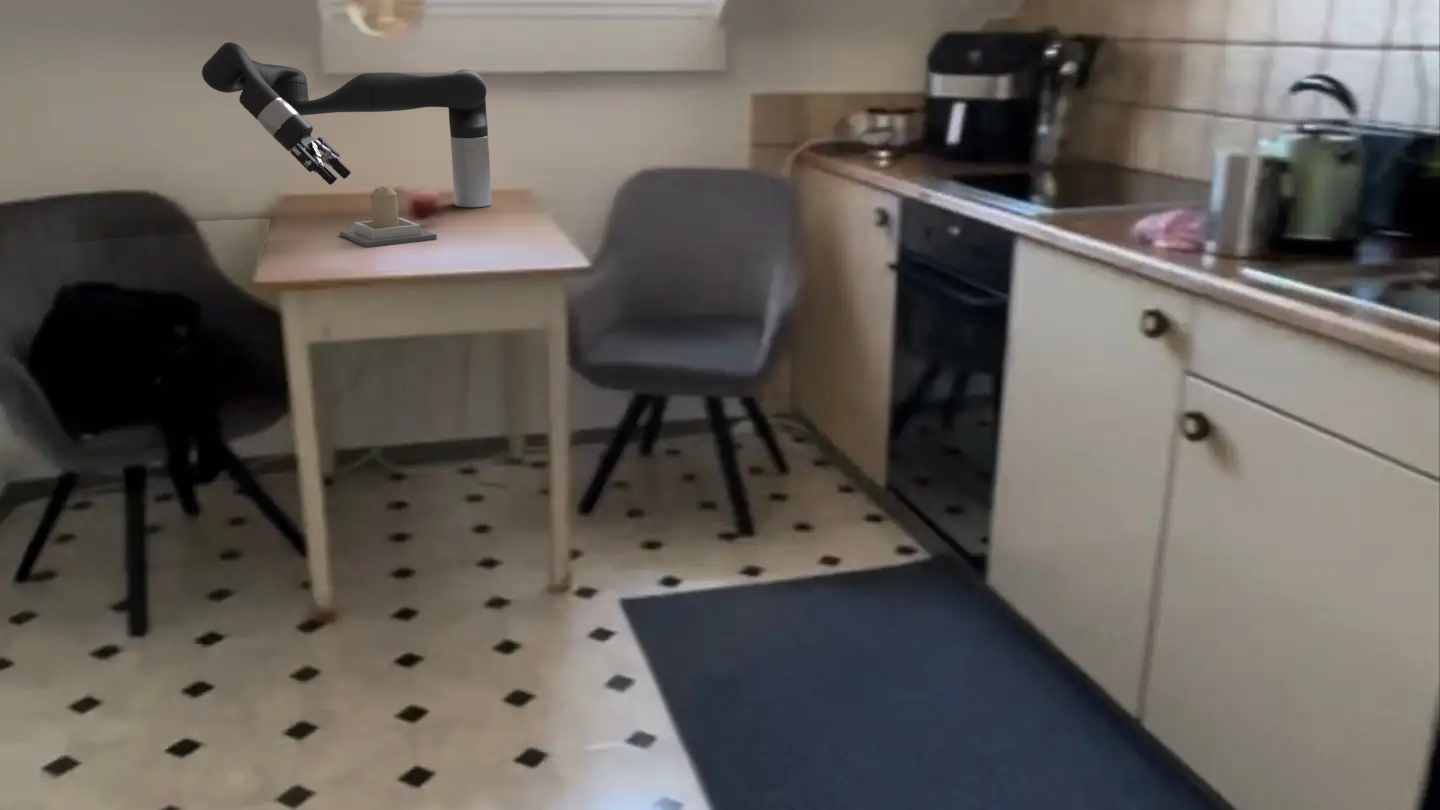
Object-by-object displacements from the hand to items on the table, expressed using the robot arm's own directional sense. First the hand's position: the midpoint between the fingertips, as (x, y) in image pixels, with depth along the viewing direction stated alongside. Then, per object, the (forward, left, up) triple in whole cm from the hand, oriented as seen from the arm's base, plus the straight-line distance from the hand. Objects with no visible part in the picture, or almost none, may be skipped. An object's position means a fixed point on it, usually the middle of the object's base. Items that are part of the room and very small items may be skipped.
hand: (341, 178), depth 271 cm
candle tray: (+6, +7, -13) cm, 16 cm away
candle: (+5, +7, -12) cm, 15 cm away
